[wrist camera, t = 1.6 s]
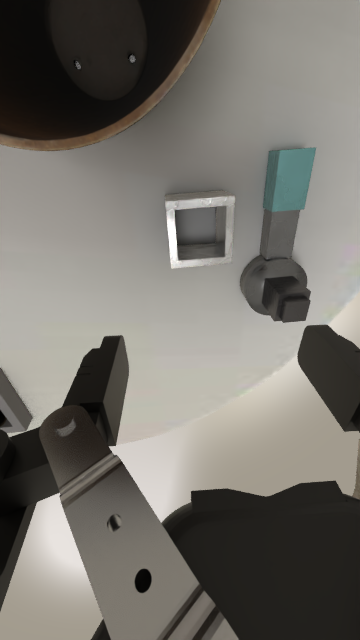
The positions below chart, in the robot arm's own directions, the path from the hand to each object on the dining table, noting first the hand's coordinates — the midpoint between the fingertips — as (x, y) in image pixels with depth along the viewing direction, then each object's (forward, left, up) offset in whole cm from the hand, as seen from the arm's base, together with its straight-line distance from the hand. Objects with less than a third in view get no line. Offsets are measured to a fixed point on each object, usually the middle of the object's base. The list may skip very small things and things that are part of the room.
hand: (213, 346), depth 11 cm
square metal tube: (-1, +1, -20) cm, 20 cm away
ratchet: (+1, +10, -20) cm, 22 cm away
